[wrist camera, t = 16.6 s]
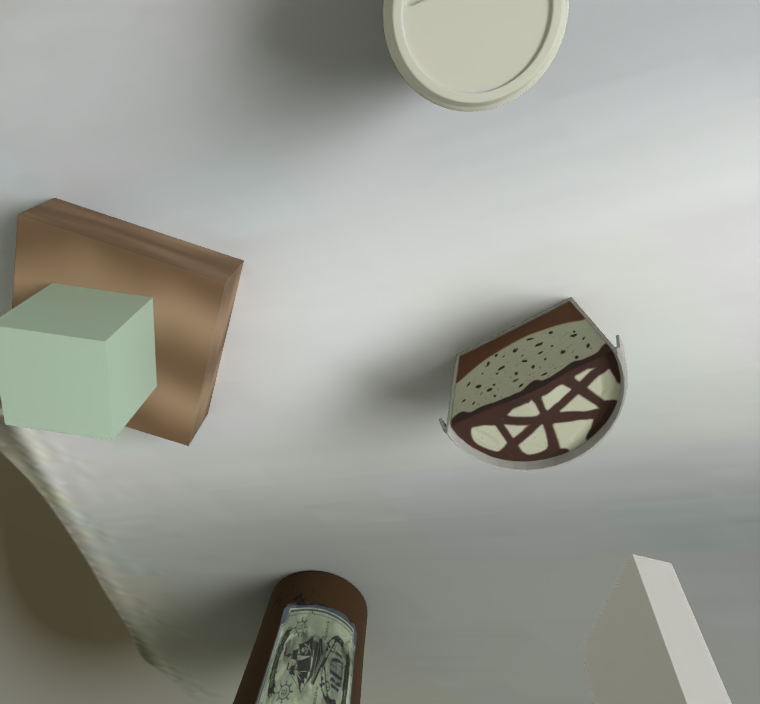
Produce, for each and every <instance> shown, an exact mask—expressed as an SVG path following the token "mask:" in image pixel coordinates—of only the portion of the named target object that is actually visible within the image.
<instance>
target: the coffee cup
mask: <svg viewBox="0 0 760 704" xmlns="http://www.w3.org/2000/svg"><path fill="white" fill-rule="evenodd" d="M568 12H569V0H384V1H383V28H384V34H385V39H386V43H387V47H388V50H389V53H390V55H391V58H392V60H393V62H394V64H395V66H396V68H397V69H398V71H399V73H400V74H401V75H402V77H403V78H404V79H405V81H406V82H407V83H408V84H409V85H410V86H411V87H412V88H413V89H414V90H415V91H416V92H417V93H418V94H420V95H421V96H422V97H424V98H425V99H427V100H429V101H430V102H432V103H434V104H437V105H439V106H441V107H444V108H448V109H452V110H457V111H467V112H473V111H483V110H488V109H492V108H496V107H499V106H501V105H504V104H506V103H508V102H510V101H512V100H514V99H515V98H517V97H519V96H520V95H522V94H523V93H524V92H526V91H527V90H528V89H529V88H531V87H532V86H533V85H534V84H535V83H536V82H537V81H538V80H539V79H540V77H541V76H542V75H543V74H544V73H545V71H546V70H547V69H548V67H549V66H550V64H551V62H552V61H553V59H554V57H555V55H556V54H557V51H558V49H559V47H560V45H561V42H562V39H563V36H564V33H565V29H566V25H567V19H568Z"/></svg>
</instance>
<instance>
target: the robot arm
mask: <svg viewBox="0 0 760 704" xmlns="http://www.w3.org/2000/svg"><path fill="white" fill-rule="evenodd" d="M581 651H582V655H583V660H584V664H585V669H586V673H587V678H588V682H589V687H590V691H591V696H592V700H593V704H731V701H730V699H729V697H728V694H727V692H726V690H725V687H724V685H723V683H722V680H721V678H720V676H719V673H718V671H717V669H716V666H715V664H714V662H713V659H712V657H711V655H710V652H709V650H708V648H707V645H706V643H705V641H704V638H703V636H702V634H701V631H700V629H699V627H698V624H697V622H696V620H695V617H694V615H693V613H692V610H691V608H690V606H689V603H688V601H687V599H686V596H685V594H684V592H683V589H682V587H681V585H680V583H679V580H678V578H677V576H676V573H675V571H674V569H673V566H672V564H671V563H667V562H663V561H659V560H654V559H650V558H646V557H642V556H637V555H632V557H631V559H630V560H629V562H628V564H627V566H626V568H625V570H624V572H623V573H622V575H621V577H620V579H619V581H618V583H617V584H616V586H615V588H614V590H613V592H612V594H611V595H610V597H609V599H608V601H607V603H606V605H605V607H604V608H603V610H602V612H601V614H600V616H599V618H598V619H597V621H596V623H595V625H594V627H593V629H592V631H591V632H590V634H589V636H588V638H587V640H586V642H585V643H584V645H583V647H582V649H581Z"/></svg>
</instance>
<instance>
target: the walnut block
mask: <svg viewBox="0 0 760 704" xmlns="http://www.w3.org/2000/svg"><path fill="white" fill-rule="evenodd" d="M243 262H244V261H243V260H240V259H237V258H234V257H231V256H228V255H225V254H222V253H219V252H216V251H213V250H210V249H207V248H204V247H201V246H198V245H195V244H192V243H189V242H186V241H183V240H180V239H177V238H174V237H171V236H168V235H165V234H162V233H159V232H156V231H153V230H150V229H147V228H144V227H141V226H138V225H135V224H132V223H129V222H126V221H123V220H120V219H117V218H114V217H111V216H108V215H105V214H102V213H99V212H96V211H93V210H90V209H87V208H84V207H81V206H78V205H75V204H72V203H69V202H66V201H63V200H60V199H57V198H54V199H52V200H49V201H47V202H45V203H43V204H40V205H38V206H36V207H33V208H31V209H29V210H27V211H24V212H22V213H20V214H18V222H17V238H16V254H15V271H14V287H13V303H12V309H13V308H15V307H16V306H18V305H19V304H21V303H22V302H24V301H25V300H27V299H29V298H30V297H32V296H33V295H35V294H36V293H38V292H39V291H41V290H42V289H44V288H45V287H47V286H49V285H50V284H52V283H54V284H62V285H69V286H76V287H83V288H90V289H97V290H104V291H111V292H118V293H125V294H132V295H139V296H146V297H153V313H154V334H155V356H156V378H157V387H156V388H155V389H154V390H153V392H152V393H151V394H150V395H149V397H148V398H147V399H146V400H145V402H144V403H143V404H142V405H141V407H140V408H139V409H138V410H137V412H136V413H135V414H134V415H133V417H132V418H131V419H130V420H129V422H128V423H127V424H126V425H125V426H126V427H129V428H133V429H136V430H139V431H142V432H145V433H149V434H152V435H155V436H158V437H162V438H165V439H168V440H171V441H174V442H178V443H181V444H184V445H187V446H189V444H190V442H191V441H192V439H193V438H194V436H195V434H196V433H197V431H198V429H199V428H200V426H201V424H202V423H203V421H204V419H205V418H206V416H207V414H208V410H209V406H210V402H211V398H212V394H213V389H214V385H215V381H216V377H217V372H218V368H219V364H220V360H221V355H222V351H223V347H224V343H225V338H226V334H227V330H228V326H229V321H230V317H231V313H232V309H233V304H234V300H235V296H236V292H237V287H238V283H239V279H240V275H241V270H242V266H243Z"/></svg>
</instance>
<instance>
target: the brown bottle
mask: <svg viewBox="0 0 760 704" xmlns="http://www.w3.org/2000/svg"><path fill="white" fill-rule="evenodd" d="M366 624H367V606H366V602H365V600H364V598H363V596H362V594H361V593H360V592H359V591H358V589H357V588H356V587H354V586H353V585H352V584H351V583H349V582H348V581H346V580H345V579H343V578H341V577H339V576H336V575H333V574H330V573H325V572H318V571H307V572H301V573H296V574H293V575H291V576H289V577H287V578H285V579H283V580H282V581H281V582H280V583H279V584H278V585H277V586H276V587H275V589H274V591H273V592H272V595H271V597H270V600H269V603H268V606H267V609H266V612H265V615H264V618H263V621H262V624H261V627H260V630H259V633H258V636H257V639H256V642H255V644H254V647H253V650H252V653H251V655H250V658H249V661H248V664H247V667H246V669H245V672H244V675H243V678H242V680H241V683H240V686H239V689H238V691H237V694H236V697H235V699H234V702H233V704H360V697H361V683H362V669H363V656H364V645H365V634H366Z"/></svg>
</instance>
